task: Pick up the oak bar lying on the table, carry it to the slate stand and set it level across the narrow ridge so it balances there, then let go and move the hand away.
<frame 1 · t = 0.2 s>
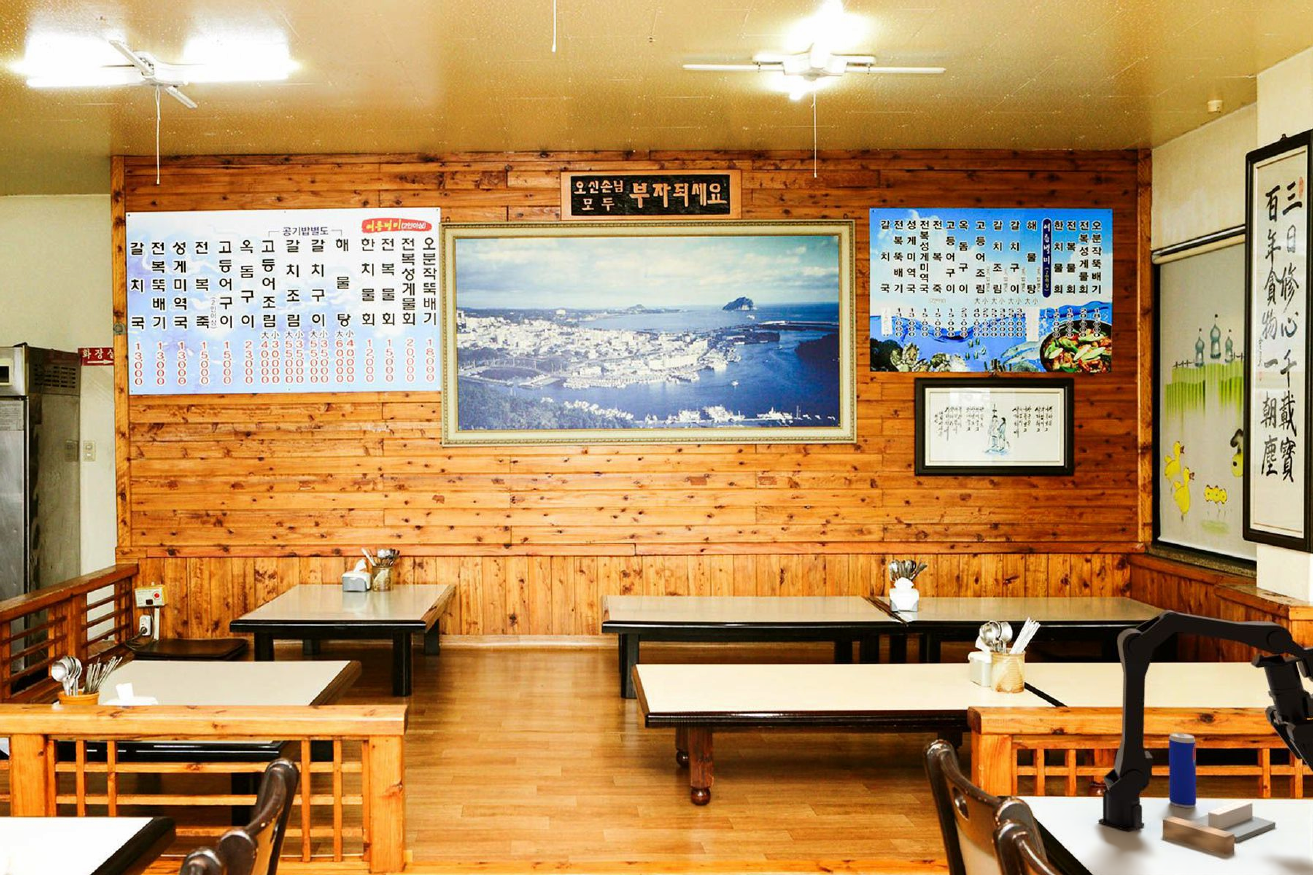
hand: (1307, 765, 196), 15 cm above the table, tool pointing down, fingers open, 9 cm apart
beverage can: (1182, 805, 219), on the table
oak bar: (1197, 844, 195), on the table
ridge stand: (1230, 827, 205), on the table
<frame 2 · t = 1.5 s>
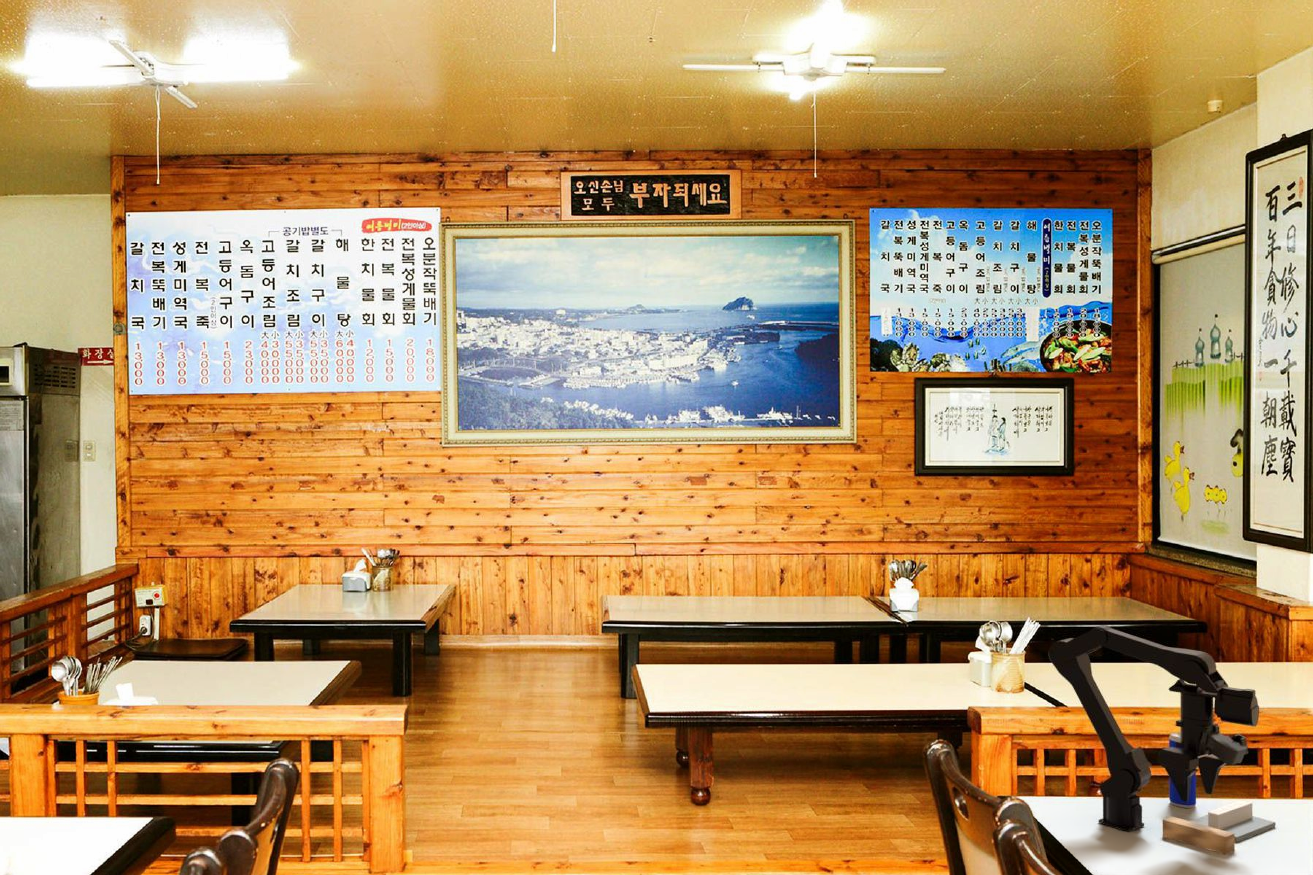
hand: (1196, 797, 196), 9 cm above the table, tool pointing down, fingers open, 9 cm apart
nothing on the table moved.
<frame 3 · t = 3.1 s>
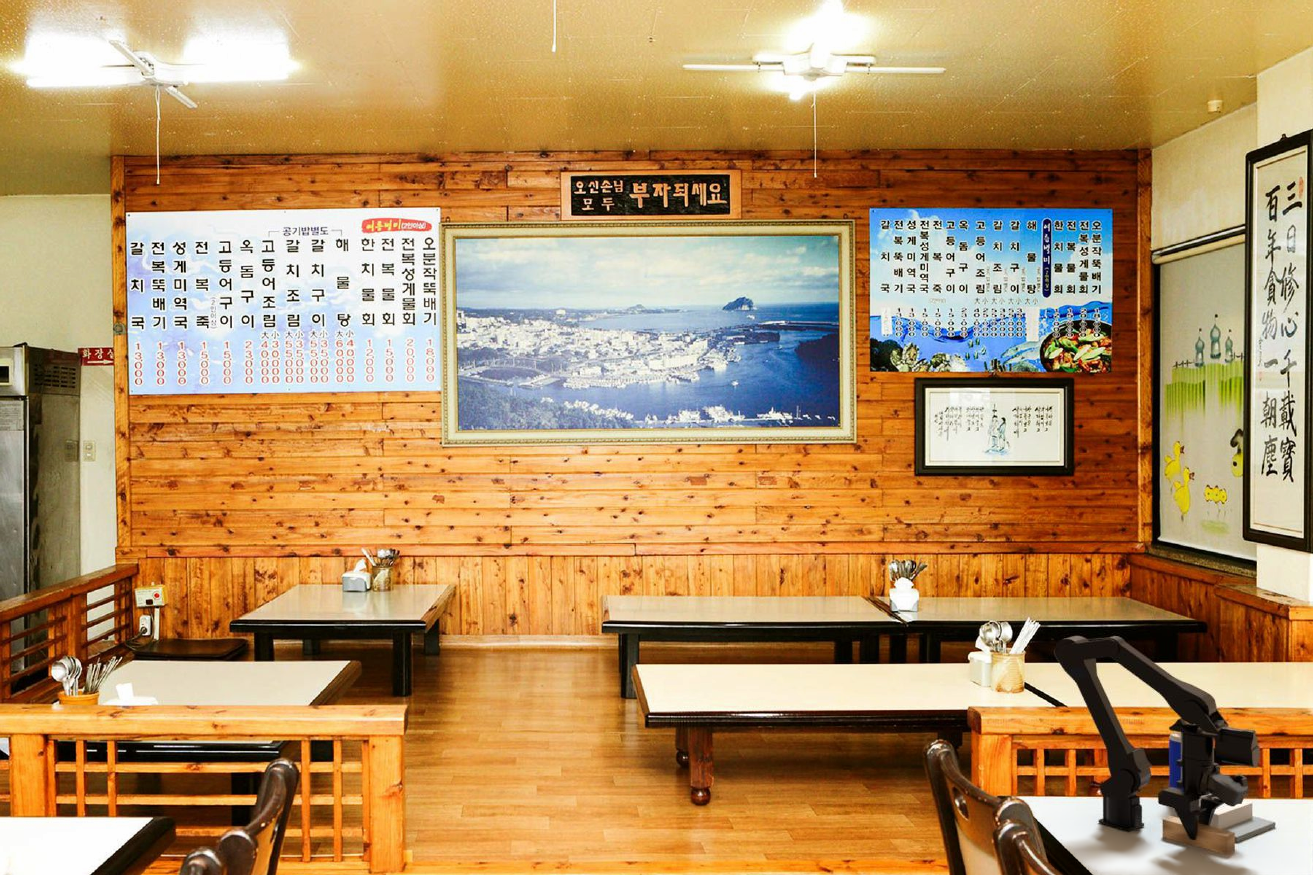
hand: (1198, 837, 195), 1 cm above the table, tool pointing down, fingers closed on oak bar, 4 cm apart
oak bar: (1198, 843, 195), on the table, touching gripper
everything else where it was.
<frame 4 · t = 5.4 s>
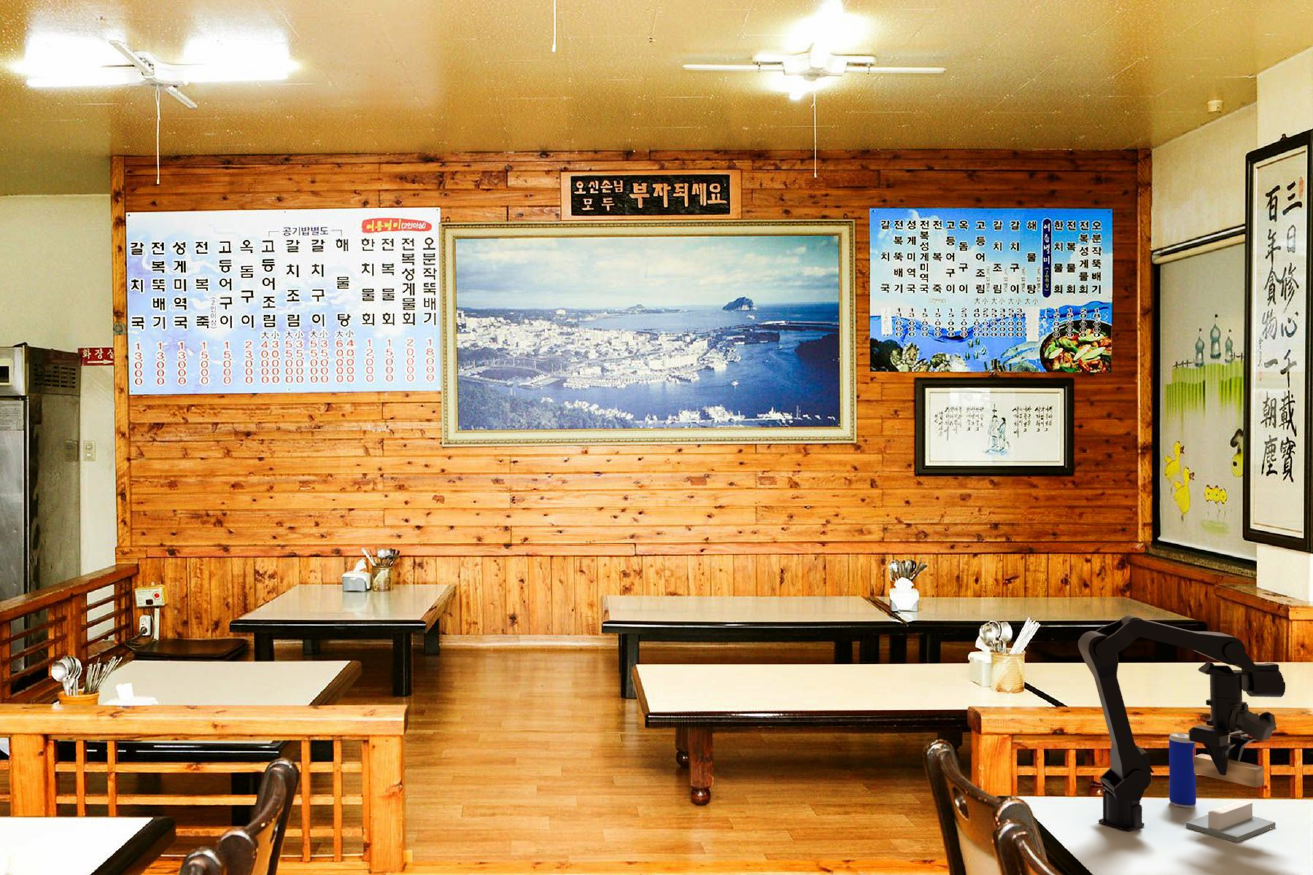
hand: (1227, 773, 204), 11 cm above the table, tool pointing down, fingers closed on oak bar, 4 cm apart
oak bar: (1228, 778, 203), point 10 cm above the table, touching gripper
everything else where it was.
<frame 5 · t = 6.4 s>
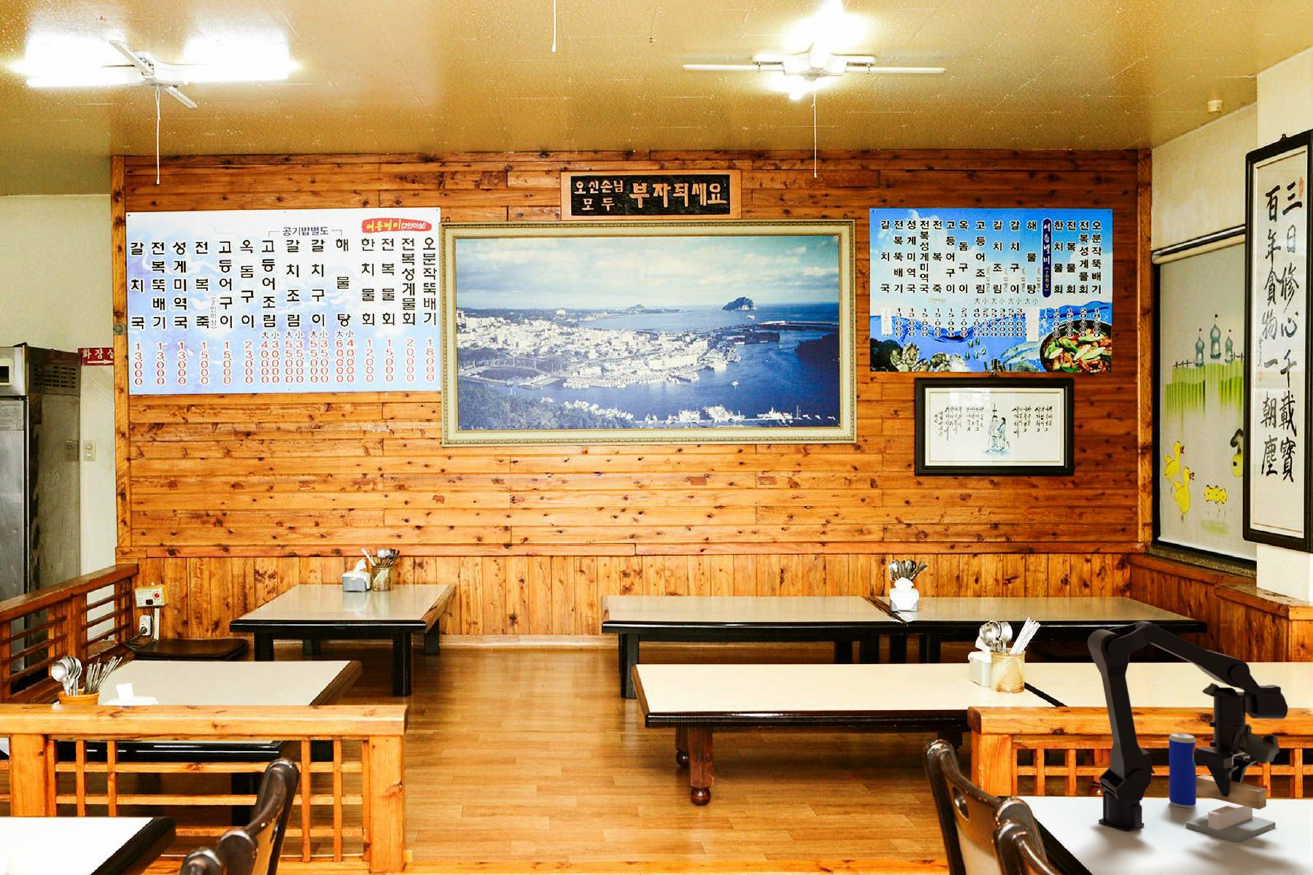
hand: (1230, 794, 205), 7 cm above the table, tool pointing down, fingers closed on oak bar, 4 cm apart
oak bar: (1230, 800, 205), point 5 cm above the table, touching gripper
everything else where it was.
when the fingers open (6 cm above the table, at t = 7.2 s): oak bar stays where it is, resting on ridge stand.
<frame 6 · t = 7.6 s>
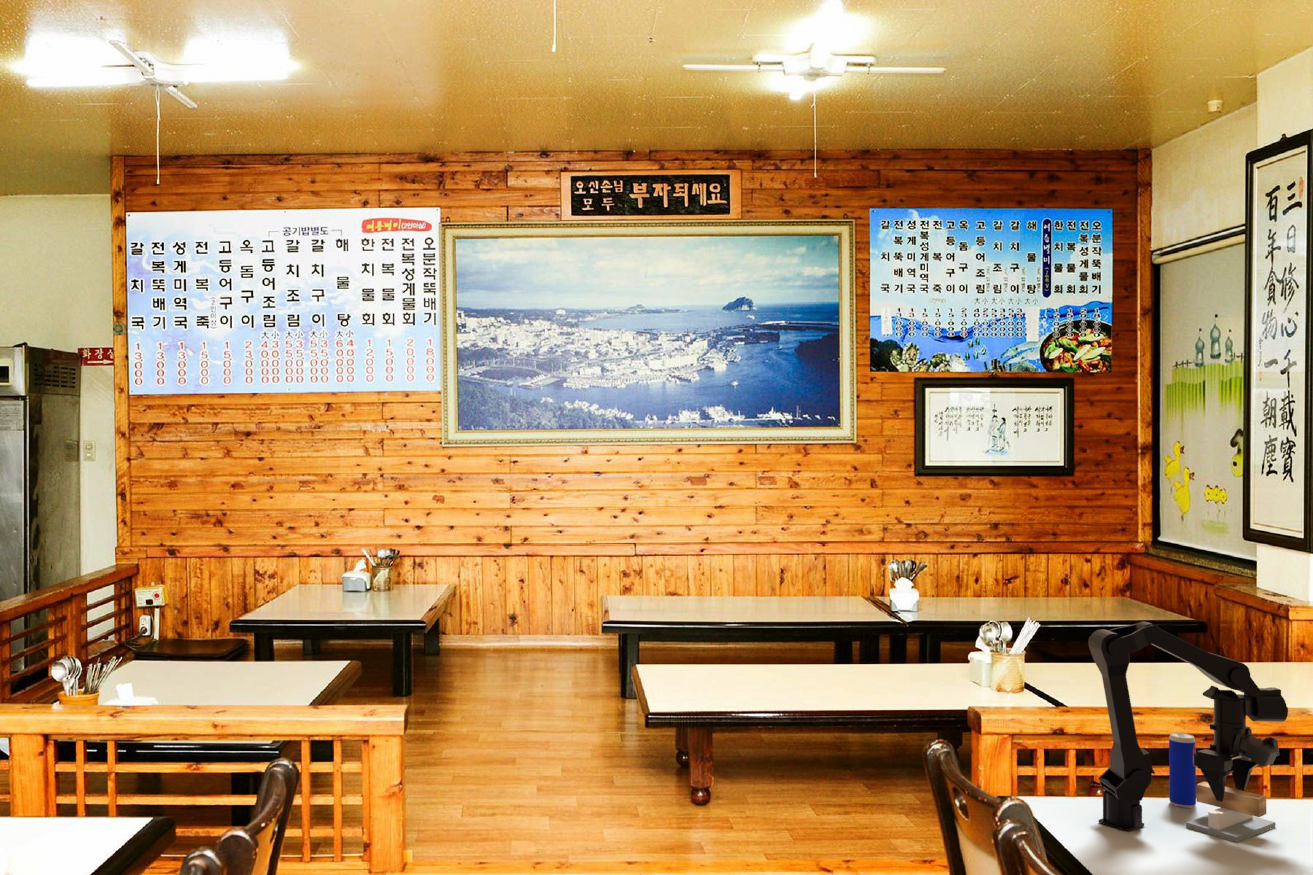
hand: (1230, 797, 205), 6 cm above the table, tool pointing down, fingers open, 8 cm apart
oak bar: (1230, 807, 205), point 4 cm above the table, touching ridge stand
everything else where it was.
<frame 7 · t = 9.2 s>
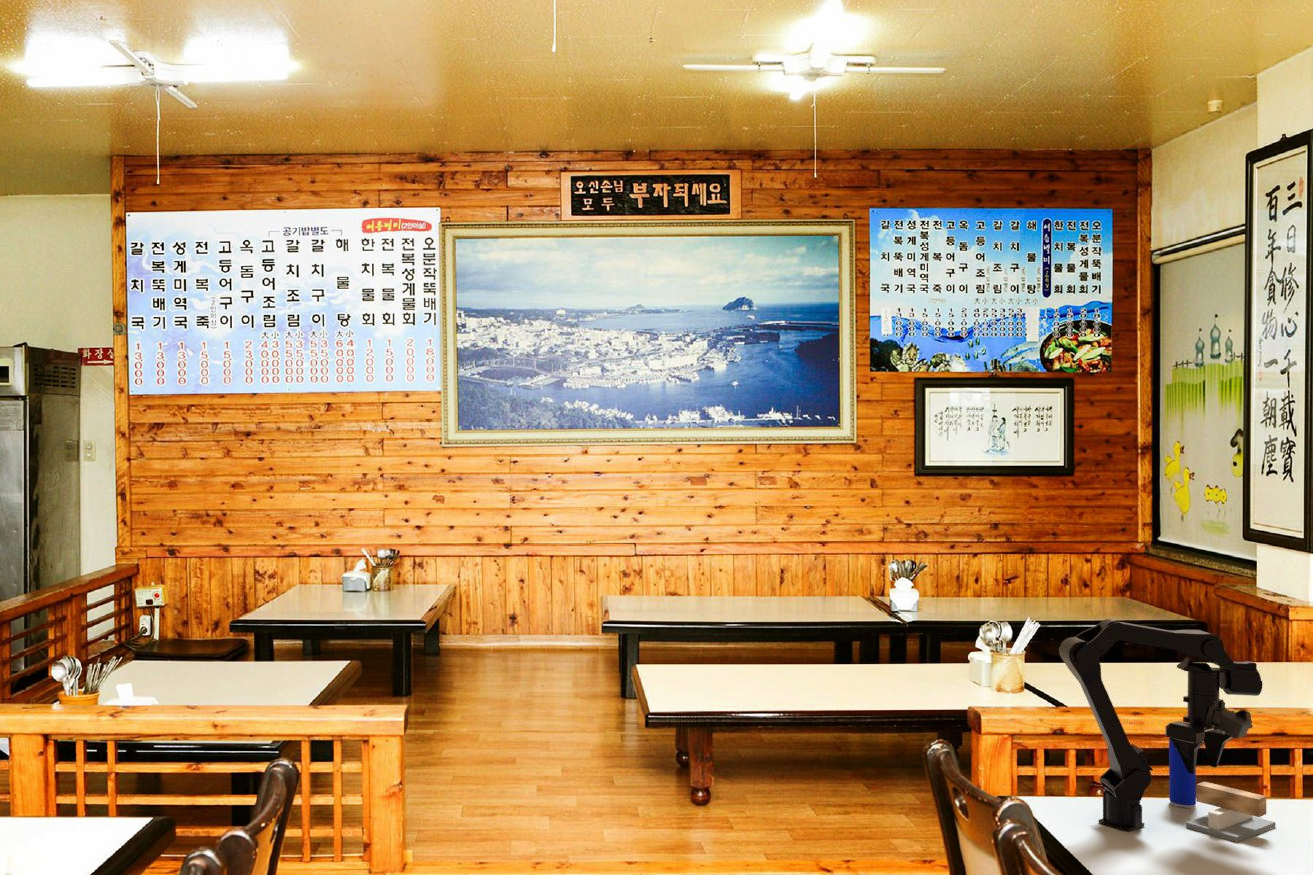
hand: (1202, 770, 204), 12 cm above the table, tool pointing down, fingers open, 9 cm apart
nothing on the table moved.
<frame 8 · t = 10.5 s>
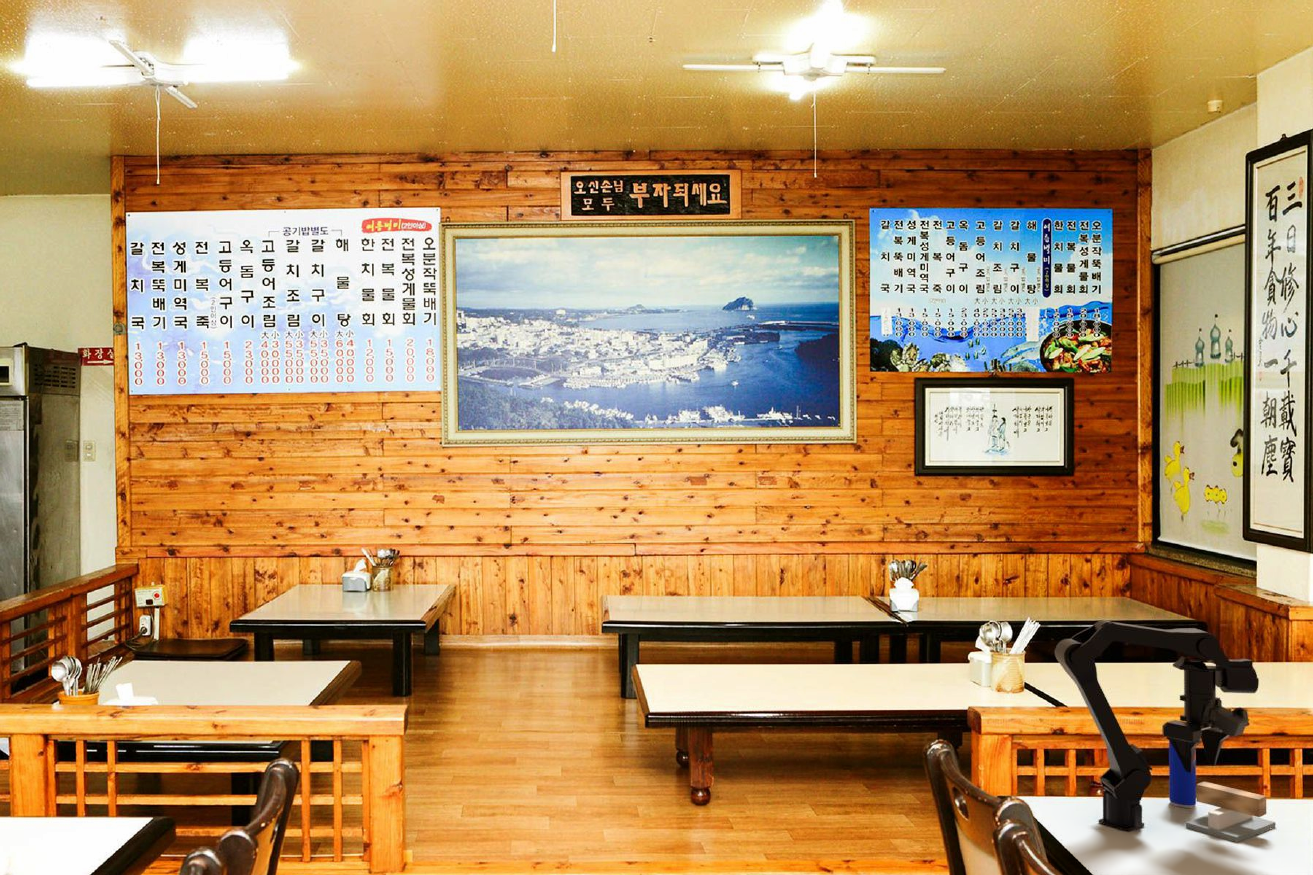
hand: (1200, 768, 204), 12 cm above the table, tool pointing down, fingers open, 9 cm apart
nothing on the table moved.
at the end: oak bar 0.1 cm off-centre on the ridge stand, point 4.0 cm above the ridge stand's base; oak bar tilted 0°; oak bar touching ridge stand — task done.
